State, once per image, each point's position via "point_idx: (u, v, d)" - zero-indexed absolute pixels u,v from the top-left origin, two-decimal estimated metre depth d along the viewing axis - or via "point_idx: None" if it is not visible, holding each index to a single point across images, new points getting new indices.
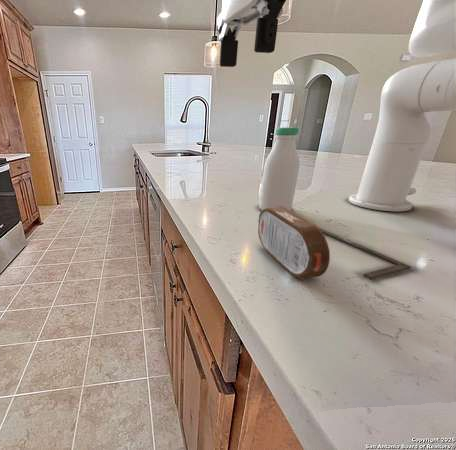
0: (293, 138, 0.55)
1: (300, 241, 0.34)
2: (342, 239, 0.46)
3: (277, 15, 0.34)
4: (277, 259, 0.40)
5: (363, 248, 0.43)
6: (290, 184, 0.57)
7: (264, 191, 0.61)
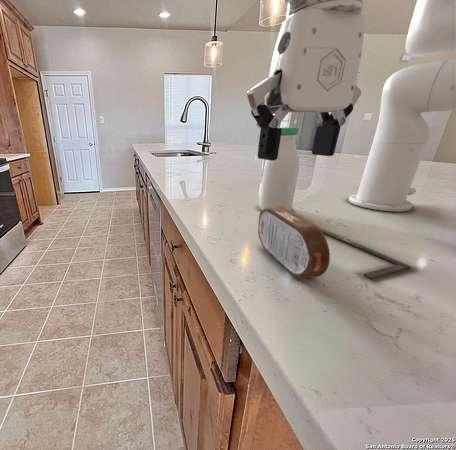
0: (293, 138, 0.55)
1: (300, 241, 0.34)
2: (342, 239, 0.46)
3: (268, 127, 0.31)
4: (277, 259, 0.40)
5: (363, 248, 0.43)
6: (290, 184, 0.57)
7: (264, 191, 0.61)
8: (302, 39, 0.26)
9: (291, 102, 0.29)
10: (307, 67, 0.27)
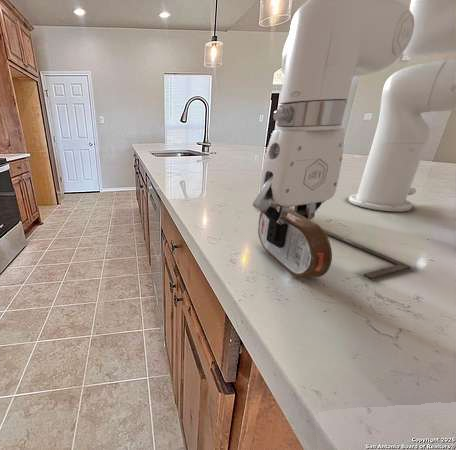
0: None
1: (303, 240, 0.33)
2: (342, 239, 0.46)
3: None
4: (277, 259, 0.40)
5: (363, 248, 0.43)
6: None
7: None
8: (289, 154, 0.31)
9: (280, 202, 0.33)
10: (294, 175, 0.32)
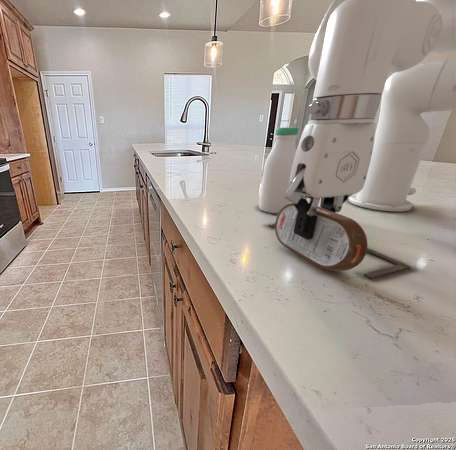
0: (293, 138, 0.55)
1: (339, 232, 0.34)
2: None
3: None
4: (300, 253, 0.40)
5: None
6: None
7: (264, 191, 0.61)
8: (324, 146, 0.32)
9: (313, 193, 0.34)
10: (328, 167, 0.33)
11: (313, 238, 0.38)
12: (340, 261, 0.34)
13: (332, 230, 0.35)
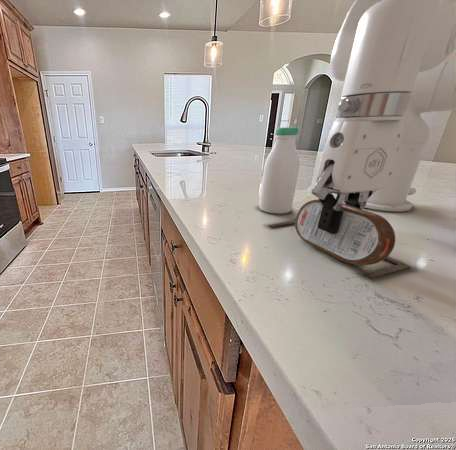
0: (293, 138, 0.55)
1: (367, 227, 0.36)
2: None
3: (334, 210, 0.38)
4: (324, 248, 0.41)
5: None
6: (290, 184, 0.57)
7: (264, 191, 0.61)
8: (354, 142, 0.33)
9: (341, 188, 0.35)
10: (357, 162, 0.34)
11: (338, 233, 0.39)
12: (368, 255, 0.35)
13: (360, 225, 0.36)
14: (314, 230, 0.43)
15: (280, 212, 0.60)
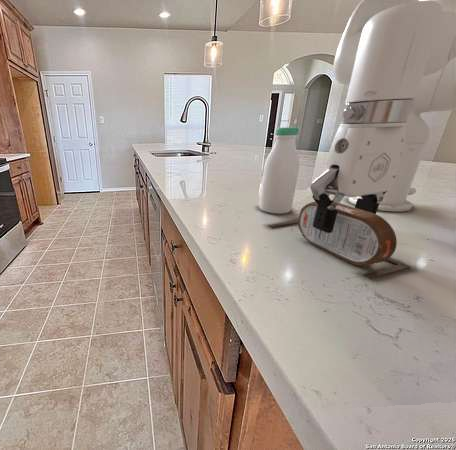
0: (293, 138, 0.55)
1: (366, 230, 0.36)
2: None
3: (327, 209, 0.38)
4: (329, 250, 0.42)
5: None
6: (290, 184, 0.57)
7: (264, 191, 0.61)
8: (359, 149, 0.34)
9: (347, 193, 0.36)
10: (361, 168, 0.35)
11: (340, 236, 0.40)
12: (372, 257, 0.36)
13: (358, 228, 0.37)
14: (317, 232, 0.44)
15: (280, 212, 0.60)
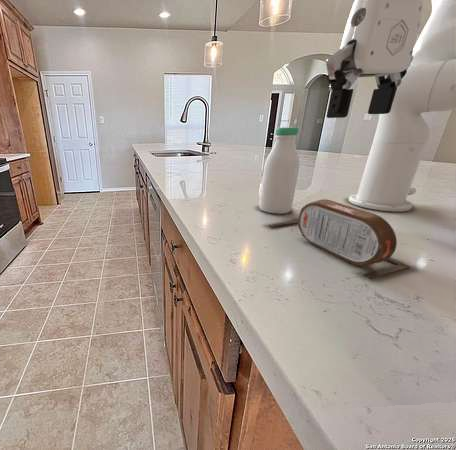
0: (293, 138, 0.55)
1: (366, 230, 0.36)
2: None
3: (342, 89, 0.38)
4: (329, 250, 0.42)
5: None
6: (290, 184, 0.57)
7: (264, 191, 0.61)
8: (377, 13, 0.33)
9: (364, 66, 0.35)
10: (380, 36, 0.34)
11: (340, 236, 0.40)
12: (372, 257, 0.36)
13: (358, 228, 0.37)
14: (317, 232, 0.44)
15: (280, 212, 0.60)
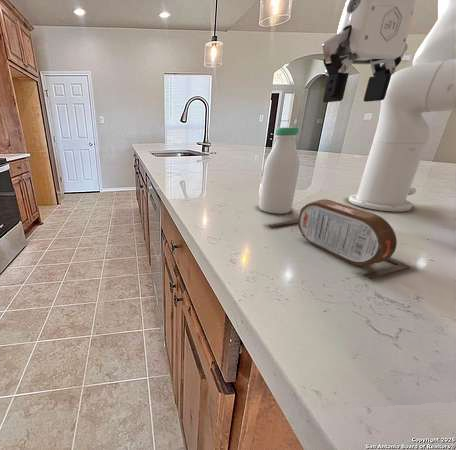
0: (293, 138, 0.55)
1: (366, 231, 0.36)
2: None
3: (337, 72, 0.39)
4: (329, 250, 0.42)
5: None
6: (290, 184, 0.57)
7: (264, 191, 0.61)
8: None
9: (359, 50, 0.37)
10: (374, 21, 0.36)
11: (340, 236, 0.40)
12: (372, 257, 0.36)
13: (358, 228, 0.37)
14: (317, 232, 0.44)
15: (280, 212, 0.60)
